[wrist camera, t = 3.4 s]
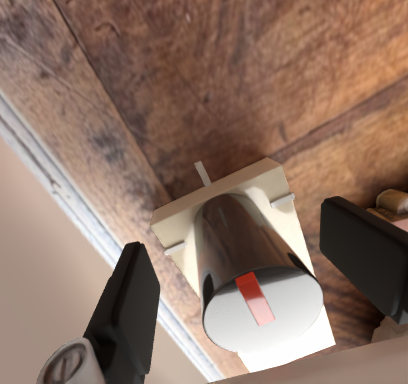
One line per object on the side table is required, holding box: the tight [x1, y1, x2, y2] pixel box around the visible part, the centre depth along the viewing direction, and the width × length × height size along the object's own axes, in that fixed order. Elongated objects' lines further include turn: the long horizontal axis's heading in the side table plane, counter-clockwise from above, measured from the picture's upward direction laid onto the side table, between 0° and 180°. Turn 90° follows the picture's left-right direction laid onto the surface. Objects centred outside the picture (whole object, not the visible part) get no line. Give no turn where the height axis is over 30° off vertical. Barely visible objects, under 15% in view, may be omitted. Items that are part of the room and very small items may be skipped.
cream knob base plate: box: [150, 157, 336, 373], centre depth 14 cm, size 20×8×2 cm, turn 25°
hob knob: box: [193, 193, 324, 353], centre depth 9 cm, size 4×4×6 cm
